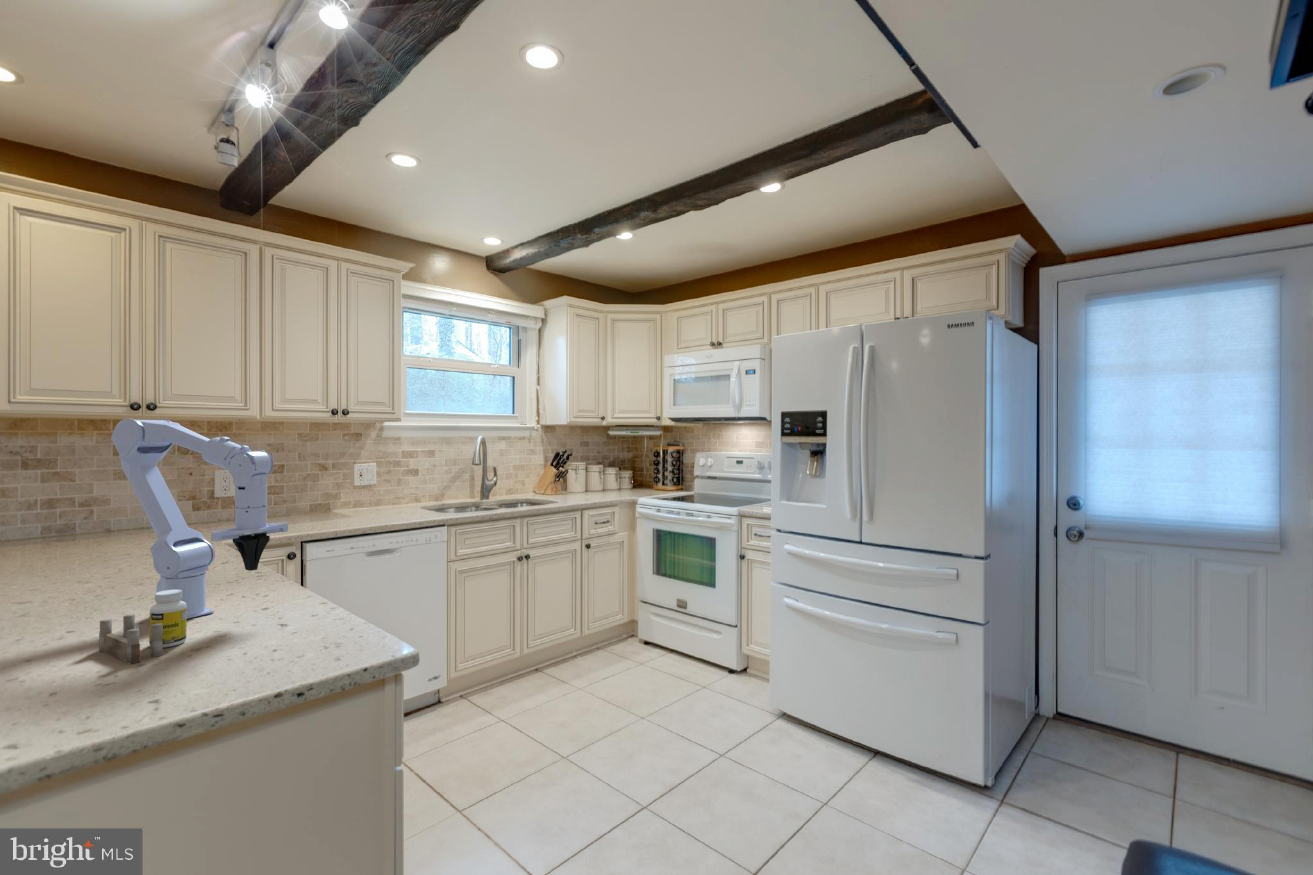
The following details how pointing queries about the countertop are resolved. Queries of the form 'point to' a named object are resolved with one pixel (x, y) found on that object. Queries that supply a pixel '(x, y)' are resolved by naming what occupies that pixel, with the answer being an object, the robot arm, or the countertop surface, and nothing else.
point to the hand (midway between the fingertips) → (251, 569)
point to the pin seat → (128, 640)
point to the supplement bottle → (170, 616)
